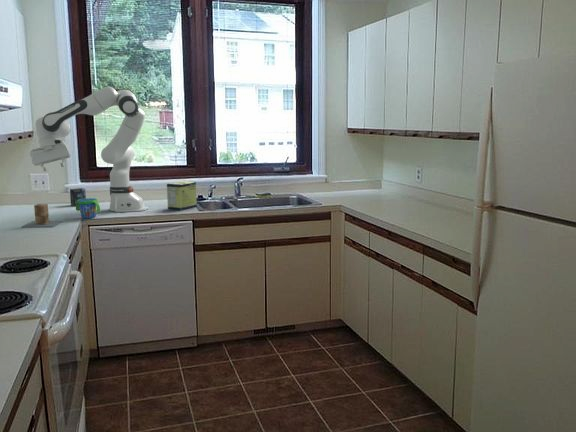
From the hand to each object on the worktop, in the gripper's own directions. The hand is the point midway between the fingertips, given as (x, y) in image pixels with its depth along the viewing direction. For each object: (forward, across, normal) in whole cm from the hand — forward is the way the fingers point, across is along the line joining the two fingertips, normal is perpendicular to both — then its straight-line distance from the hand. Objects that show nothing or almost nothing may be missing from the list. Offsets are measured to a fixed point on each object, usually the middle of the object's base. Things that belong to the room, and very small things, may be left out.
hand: (54, 168), depth 310 cm
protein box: (+34, +61, +31) cm, 76 cm away
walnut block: (+31, -10, -9) cm, 34 cm away
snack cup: (+30, +10, +8) cm, 33 cm away
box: (+10, -1, +48) cm, 49 cm away
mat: (+31, -10, -9) cm, 34 cm away
